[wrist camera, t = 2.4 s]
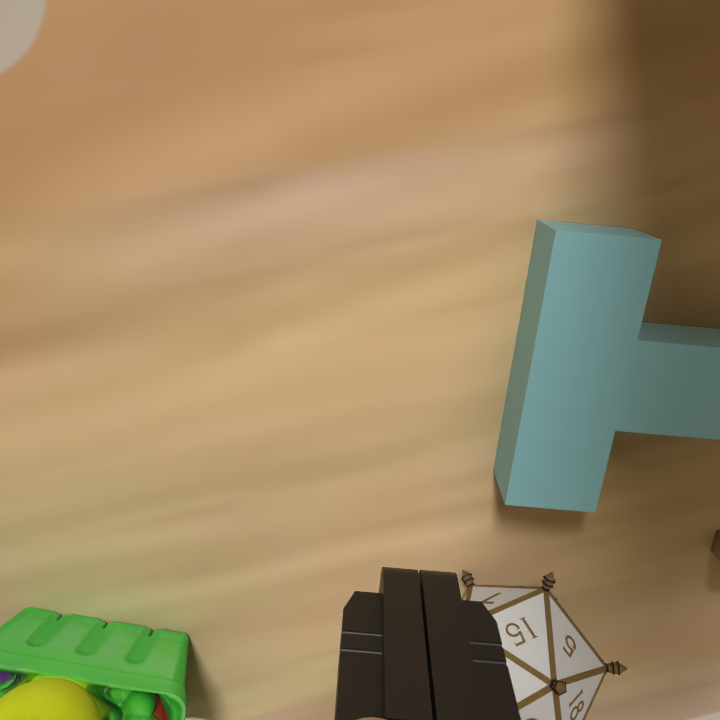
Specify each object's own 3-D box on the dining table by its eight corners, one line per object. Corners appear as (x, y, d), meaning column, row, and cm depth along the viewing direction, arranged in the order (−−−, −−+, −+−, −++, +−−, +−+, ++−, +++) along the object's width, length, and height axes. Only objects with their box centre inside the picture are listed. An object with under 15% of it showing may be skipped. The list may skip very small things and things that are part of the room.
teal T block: (537, 219, 27) (556, 230, 24) (797, 242, 27) (847, 255, 24) (493, 470, 31) (504, 504, 28) (719, 489, 31) (753, 526, 28)
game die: (517, 573, 37) (624, 758, 31) (383, 630, 35) (471, 841, 29) (553, 499, 30) (700, 717, 24) (391, 563, 28) (507, 820, 22)
